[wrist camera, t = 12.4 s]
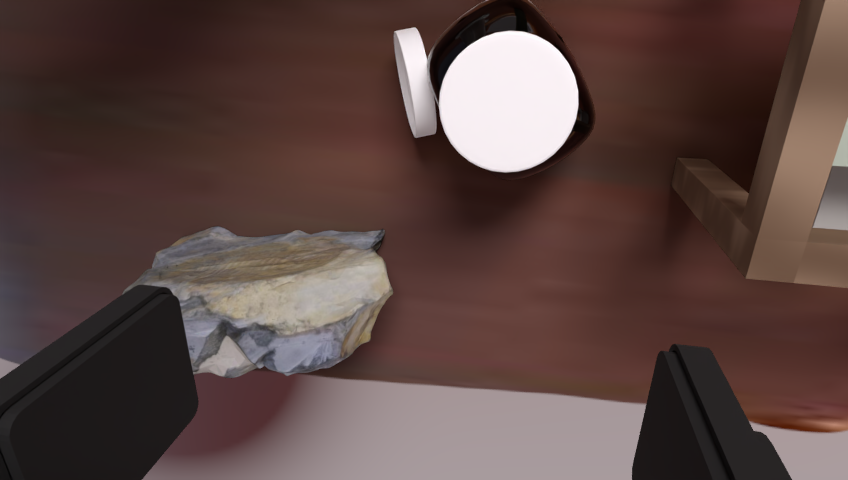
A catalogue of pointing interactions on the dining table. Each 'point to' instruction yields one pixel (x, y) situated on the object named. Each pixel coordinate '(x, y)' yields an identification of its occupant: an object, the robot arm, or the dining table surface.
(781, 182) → the trapdoor frame
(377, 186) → the dining table surface
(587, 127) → the spread jar
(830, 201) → the gray cube
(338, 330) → the fossil rock
